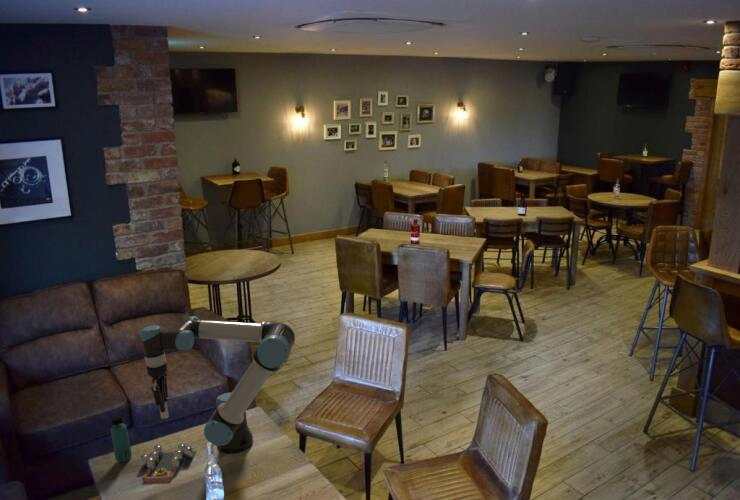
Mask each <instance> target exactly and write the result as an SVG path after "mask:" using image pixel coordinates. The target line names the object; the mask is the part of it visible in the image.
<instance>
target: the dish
mask: <svg viewBox="0 0 740 500" xmlns="http://www.w3.org/2000/svg"><path fill="white" fill-rule="evenodd" d="M151 473H152V472H151V471H150V469H148V471H147V472H145V474H144V476H143V477H142V481H143V483H150V482H151V483H152V482H153V483H154V482H171V481H172V480H173V479H174V477H175V474H176V473H177V471H176V467H175V468H174V469H173V471H171V474H170V475H169V476H168V475H167V476H162V477H156V476H150V474H151Z"/></svg>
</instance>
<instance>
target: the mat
mask: <svg viewBox="0 0 740 500" xmlns="http://www.w3.org/2000/svg"><path fill="white" fill-rule="evenodd" d="M192 453H193V459H192V460H186V458H185V457H184V458H183V461H184V462H183V463H182V464H180V469H179V470H178V471H188V470H189V468H190V467H191V466H192V465H191V464H192V463H193V460H194V458H195V457H196V455H197V453H198V451H197V450H196V451H193V450H192ZM148 456H149V457H151V456H150V453H149V454H148ZM173 456H175V451H173V452H163V457H162V458H161V459H159V464H158V465H155V468H156V470H155V471H157V470H158V469H160V468H166V470H167V472H168V471H169V472H172V471H173V470H172V463H171V458H172V457H173ZM147 471H148V469H143V468H142V466H141V468H140V469H139V470H138V473H146V472H147ZM155 471H154V472H155Z"/></svg>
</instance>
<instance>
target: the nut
mask: <svg viewBox="0 0 740 500" xmlns="http://www.w3.org/2000/svg"><path fill="white" fill-rule="evenodd" d="M154 474H155V477H162V476H168V471H167V470H166V468H160V469H158V470H157V471H154Z"/></svg>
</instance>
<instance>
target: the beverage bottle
mask: <svg viewBox="0 0 740 500" xmlns="http://www.w3.org/2000/svg"><path fill="white" fill-rule="evenodd" d="M123 422H124V420H123V417H122V416H121V415H118V416H115V417H113V418H112V419H111V424H112V426H111V428H110V433H111V439H112V440H111V441H112V446H113V452H114V453H113V454H114V459H115V461H116V462H118V463H121V462H122V463H123V462H127V461H129V460H131V458H132V450H131V444H130V439H129V438H130V437H129V432H128V426H127V424H125V423H123Z"/></svg>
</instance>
